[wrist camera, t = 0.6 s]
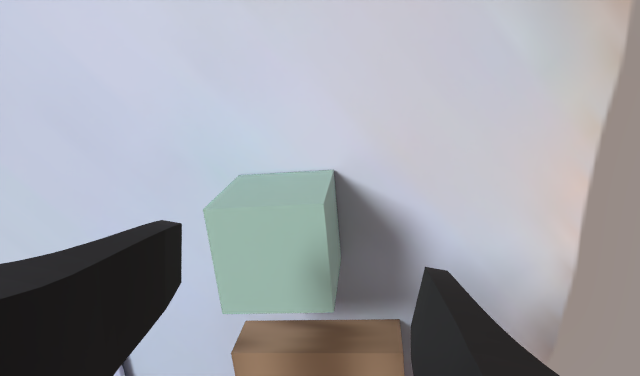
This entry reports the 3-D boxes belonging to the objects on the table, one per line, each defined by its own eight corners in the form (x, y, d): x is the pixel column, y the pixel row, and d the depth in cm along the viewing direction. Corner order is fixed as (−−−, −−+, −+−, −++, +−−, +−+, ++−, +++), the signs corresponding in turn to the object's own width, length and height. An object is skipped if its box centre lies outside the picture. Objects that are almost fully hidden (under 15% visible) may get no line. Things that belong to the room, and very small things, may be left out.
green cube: (252, 260, 23) (222, 314, 19) (238, 175, 22) (202, 209, 17) (341, 258, 23) (333, 312, 18) (333, 169, 21) (323, 203, 16)
